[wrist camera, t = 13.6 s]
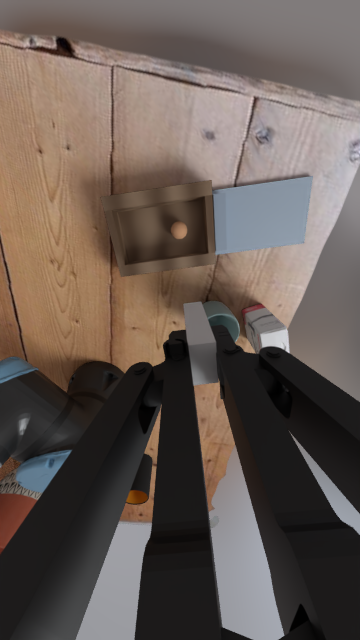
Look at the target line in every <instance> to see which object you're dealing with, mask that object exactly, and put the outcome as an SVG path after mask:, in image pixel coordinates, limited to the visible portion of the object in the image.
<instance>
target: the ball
mask: <svg viewBox="0 0 360 640" xmlns="http://www.w3.org/2000/svg"><path fill="white" fill-rule="evenodd" d="M171 233H172V235H173V237H174V238H176V239H182V238H184V237H185V236H186V234H187V227H186V225H185V224H184V223H183V222H181V221H178V222H175V223H174V224H173V225H172V227H171Z"/></svg>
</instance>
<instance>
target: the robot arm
mask: <svg viewBox="0 0 360 640" xmlns="http://www.w3.org/2000/svg"><path fill="white" fill-rule="evenodd" d="M183 305H184V315H185V325H186V330H178V331H172V332H171V334H170V335H169V340H167V341H166V342H165V343H164V344H163V349H164V354H165V361H164V362H162V363H161V364H159V365H156V366H153V367H152V365H151V364H150V363H148V362H139V363H136V364H134V365H132V366H131V367H130V368H129V369H128V370H127V371H126V373H125V374H124V373H123V372H122V371H121V370H120V369H119V368H117V367H116V366H114V365H111V364H109V363H105V362H89V363H86V364H83V365H82V366H80V367H79V368H78V369H77V370H76V371H75V372H74V374H73V375H72V377H71V379H70V381H69V386H68V390H67V393H66V392H65V391H63V390H62V389H61V388H60V387H58V386H57V385H56V384H55V383H53V382H52V381H51V380H50V379H49V378H47V377H46V376H45V375H44V374H43V373H41V372H40V371H39V370H38V368H37V367H34V366H32V365H31V364H29V363H28V362H26V361H25V360H24V359H22V358H20V357H9V358H6V359H4V360H2V361H0V468H1V466H2V465H3V464H4V463H5V462H6V461H7V459H8V458H9V457H12V458H13V459H15V460H17V461H19V462H20V463H21V464H20V466H19V467H18V468H17V472H16V477H15V478H16V481H18V484H19V485H21V486H22V487H24V488H26V489H28V490H31V491H35V492H40V493H42V494H41V496H40V497H39V499H38V500H37V502H36V503H35V505H34V506H33V508H32V509H31V510H30V512H29V513H28V515H27V516H26V518H25V519H24V521H23V522H22V523H21V525H20V526H19V528H18V529H17V531H16V532H15V534H14V535H13V536H12V538H11V539H10V541H9V542H8V544H7V545H6V547H5V548H4V549H3V551H2V552H1V554H0V640H75V639H76V636H77V634H78V631H79V628H80V626H81V623H82V620H83V617H84V615H85V612H86V609H87V607H88V604H89V601H90V598H91V595H92V593H93V590H94V588H95V584H96V582H97V579H98V577H99V574H100V571H101V568H102V566H103V563H104V560H105V558H106V555H107V552H108V549H109V547H110V544H111V541H112V539H113V536H114V533H115V530H116V527H117V525H118V522H119V519H120V517H121V514H122V511H123V509H124V506H125V503H126V500H127V498H128V495H129V492H130V489H131V487H132V484H133V481H134V479H135V476H136V473H137V470H138V468H139V465H140V462H141V460H142V457H143V454H144V451H145V449H146V446H147V443H148V440H149V438H150V435H151V432H152V430H153V427H154V424H155V421H156V419H157V416H158V413H159V411H160V408H161V419H160V431H159V444H158V456H157V469H156V481H155V493H154V506H153V518H152V529H151V535H150V538H149V540H148V542H147V544H146V547H145V552H144V557H143V563H142V571H141V581H140V590H139V600H138V610H137V620H136V631H135V640H252V639H250V638H247V637H245V636H242V635H240V634H237V633H235V632H232V631H230V630H227V629H225V628H223V627H222V620H221V612H220V604H219V595H218V588H217V580H216V572H215V563H214V554H213V546H212V537H211V529H210V520H209V512H208V503H207V495H206V486H205V478H204V469H203V461H202V452H201V444H200V435H199V427H198V418H197V410H196V402H195V393H194V385H200V384H209V383H217V382H218V378H219V381H220V396H221V399H223V401H224V405H225V409H226V412H227V416H228V419H229V423H230V427H231V430H232V434H233V438H234V441H235V445H236V448H237V452H238V455H239V459H240V463H241V466H242V470H243V474H244V477H245V481H246V485H247V488H248V492H249V495H250V499H251V503H252V506H253V510H254V513H255V517H256V521H257V524H258V528H259V531H260V535H261V539H262V542H263V546H264V549H265V553H266V557H267V561H268V564H269V569H270V573H271V579H272V585H273V590H274V596H275V600H276V605H277V608H278V612H279V616H280V620H281V624H282V628H283V631H284V635H285V636H283V637H282V638H281V639H279V640H360V535H359V534H358V533H357V532H356V531H355V530H354V529H353V527H350V526H349V525H348V524H346V523H344V522H342V521H341V520H340V518H339V517H338V516H337V515H336V513H335V512H334V510H333V508H332V507H331V505H330V503H329V502H328V500H327V498H326V496H325V494H324V492H323V491H322V489H321V487H320V486H319V484H318V482H317V480H316V478H315V477H314V475H313V473H312V471H311V469H310V468H309V466H308V464H307V462H306V461H305V459H304V457H303V455H302V454H301V452H300V450H299V448H298V446H297V445H296V443H295V441H294V440H293V438H292V436H291V434H292V435H293V436H294V437H295V438H296V440H297V441H298V442H299V443H300V444H301V446H302V447H303V448H304V449H305V450H306V451H307V452H308V454H309V455H310V456H311V457H312V458H313V459H314V461H315V462H316V463H317V464H318V465H319V467H320V468H321V469H322V470H323V471H324V472H325V474H326V475H327V476H328V477H329V478H330V479H331V481H332V482H333V483H334V484H335V485H336V486H337V488H338V489H339V490H340V491H341V492H342V494H343V495H344V496H345V497H346V498H347V499H348V500H349V502H350V503H351V504H352V505H353V506H354V508H355V509H356V510H357V511H358V512H359V513H360V402H359V401H357V400H356V399H354V398H353V397H352V396H350V395H349V394H347V393H346V392H344V391H343V390H341V389H340V388H339V387H337V386H336V385H334V384H333V383H331V382H330V381H329V380H327V379H326V378H324V377H323V376H321V375H320V374H318V373H317V372H316V371H314V370H313V369H311V368H310V367H308V366H307V365H305V364H304V363H302V362H301V361H300V360H298V359H297V358H295V357H294V356H293V355H291V354H290V353H288V352H287V351H285V350H284V349H282V348H279V347H275V346H267V347H263V348H261V349H260V351H259V354H255V353H247V352H244V351H243V349H242V348H241V347H240V346H238V345H236V344H235V342H234V340H233V338H232V336H231V335H230V333H229V331H228V329H227V327H225V326H224V325H214V326H210V324H209V321H208V319H207V316H206V313H205V310H204V308H203V305H202V302H201V301H200V302H193V303H185V304H183ZM161 404H162V407H161ZM289 431H290V432H289ZM290 433H291V434H290Z"/></svg>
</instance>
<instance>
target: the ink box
mask: <svg viewBox="0 0 360 640" xmlns="http://www.w3.org/2000/svg"><path fill="white" fill-rule="evenodd" d="M242 313H243V318H244V324H245V329H246V334H247V339H248V341H249V342H250V344H251V346H252V347H253V349H254V351H255V352H256V354H259V351H260V349H261V348H263V347H267V346H275V347H279V348H282V349H284V350H285V351H287V352H288V353H290V352H289V337H288V330H287V329H286V326H285V325H284V324H283V323H282V322H280V321H279V320H278V319H277V318H276V317H275V316H274V315H273V314H272V313H271V312H270V311H269V310H268V309H267V308H266V307H264V306H263V305H262V304H259V305H255V306H251V307H248V308H245V309H243V310H242Z"/></svg>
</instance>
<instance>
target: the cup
mask: <svg viewBox="0 0 360 640" xmlns="http://www.w3.org/2000/svg"><path fill="white" fill-rule="evenodd" d="M202 305H203V308H204V310H205V313H206V316H207V319H208V321H209V324H210V326H214V325H224V326H225V327H227V329H228V331H229V333H230V335H231V336H232V338H233V340H234V342H236V341H237V339H238V337H239V333H240V327H239V323H238V321H237V319H236V317H235V316H234V314H233V313H232V311H231V310H230V309H229V308H228V307H227V306H226V305H225V304H224V303H222V302H220V301H207V302H205V303H203V304H202Z"/></svg>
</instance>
